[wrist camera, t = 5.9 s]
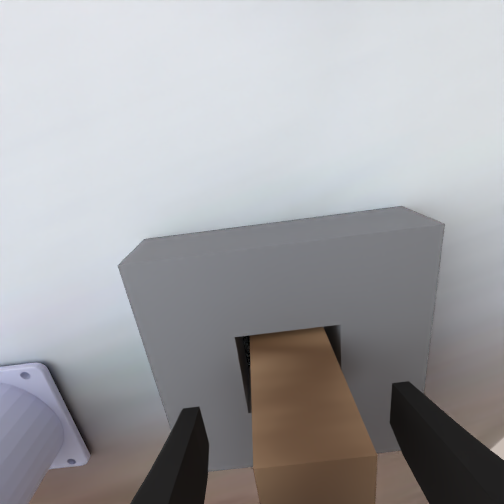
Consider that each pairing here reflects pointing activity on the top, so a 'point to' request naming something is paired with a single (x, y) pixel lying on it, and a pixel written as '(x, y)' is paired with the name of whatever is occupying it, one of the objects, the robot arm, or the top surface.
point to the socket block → (286, 312)
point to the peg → (306, 424)
